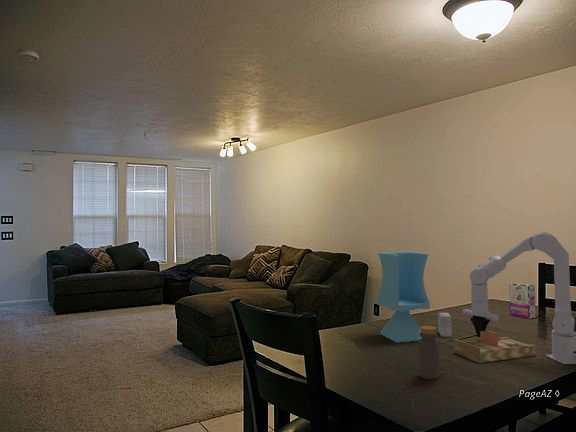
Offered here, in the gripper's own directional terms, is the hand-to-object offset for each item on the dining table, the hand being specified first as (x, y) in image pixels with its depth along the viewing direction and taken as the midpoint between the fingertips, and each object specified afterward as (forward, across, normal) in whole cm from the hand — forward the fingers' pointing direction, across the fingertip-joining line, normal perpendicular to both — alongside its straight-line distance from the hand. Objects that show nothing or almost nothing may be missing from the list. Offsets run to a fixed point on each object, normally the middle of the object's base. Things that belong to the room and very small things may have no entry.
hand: (480, 336), depth 168 cm
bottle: (+4, -14, +39) cm, 42 cm away
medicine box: (+4, +22, -4) cm, 23 cm away
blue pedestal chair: (+4, +27, +14) cm, 31 cm away
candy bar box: (+4, +30, -65) cm, 72 cm away
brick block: (+1, -5, +1) cm, 5 cm away
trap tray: (+4, -8, +2) cm, 9 cm away
